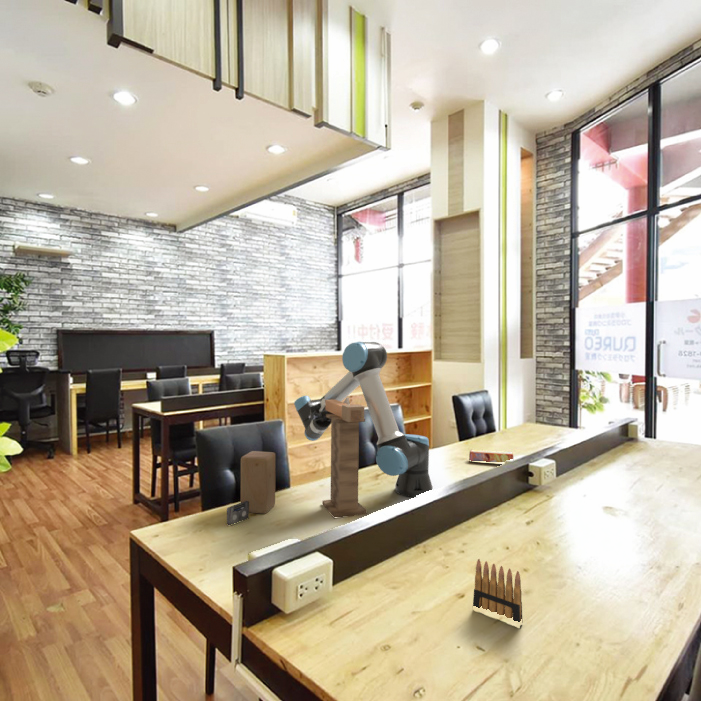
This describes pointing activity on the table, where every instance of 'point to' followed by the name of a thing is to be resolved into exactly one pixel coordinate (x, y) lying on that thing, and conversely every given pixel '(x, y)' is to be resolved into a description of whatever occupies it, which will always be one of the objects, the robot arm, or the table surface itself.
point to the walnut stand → (344, 468)
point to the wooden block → (258, 481)
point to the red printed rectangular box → (490, 456)
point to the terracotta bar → (345, 410)
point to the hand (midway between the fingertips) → (336, 401)
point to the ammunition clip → (498, 592)
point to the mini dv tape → (238, 512)
